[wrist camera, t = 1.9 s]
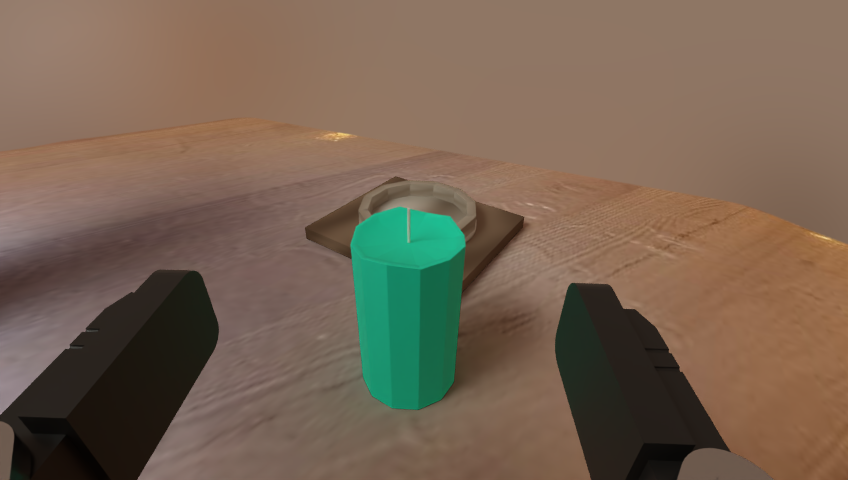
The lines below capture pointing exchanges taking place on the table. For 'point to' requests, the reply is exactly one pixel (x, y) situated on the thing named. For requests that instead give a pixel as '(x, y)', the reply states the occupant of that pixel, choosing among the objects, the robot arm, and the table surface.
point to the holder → (474, 219)
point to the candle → (408, 304)
